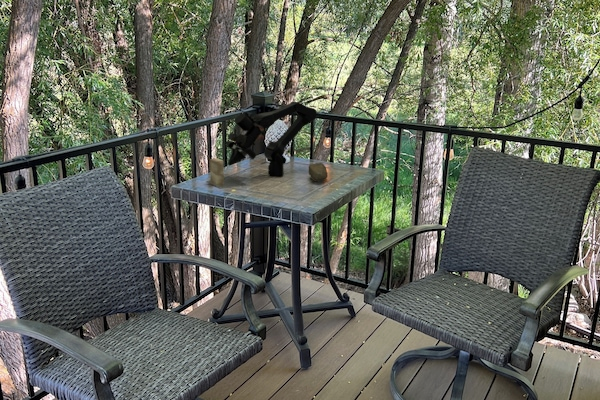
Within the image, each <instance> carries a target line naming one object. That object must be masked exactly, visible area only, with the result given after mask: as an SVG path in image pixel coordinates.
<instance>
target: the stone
mask: <svg viewBox="0 0 600 400" xmlns="http://www.w3.org/2000/svg"><path fill="white" fill-rule="evenodd" d="M308 174H309V176H310V179H312V180H313V181H314V182H315V181H316V182H319V181H320V182H321V181H324V180H327V179H328V169H327V167H326V165H325V164H324V163H323V162H315V163H311V164H309V165H308Z"/></svg>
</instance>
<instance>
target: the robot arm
mask: <svg viewBox="0 0 600 400" xmlns="http://www.w3.org/2000/svg"><path fill="white" fill-rule="evenodd" d="M294 113H296V114H297V116H296V118H295V120H294V121H293V122H292V123H291V124H290V125H289V127H288V128H287V129H286V130H285V132H284V133H283V134H282V135H280V137H279V139H278V140H276V141H272V140H271V141H270V142H269V143H268V145H266V146H265V149H264V152H263V153H264V157H265V158H266V160H267V162H268V163H269V164H268V165H267V166H268V167H267V170H268V171H267V172H268V177H275V178H276V177H277V178H278V177H280V178H281V177H283V176H284V175H285V172H284V164H286V163H287V158H286V157H285V156H284V154H285V150H286V147H287V146H288V145H289V144H290V143H291V142H292V141H293V139H294V138H295V137H296V136H297V135H298V134H299V132H300V131H302V129H303V128H304V127H305V126H307V125H309V124H311V123H313V121H315V119H317V117H318V112H317V110H316V109H315V108H314V107H310V106H306V105H304V104H303V103H301V102H298V101H295V100H293V101H291V102H290V103H288V104H286V105H283V106H281V107H279V108H277V109H275V110H271V111H268V112H261V113H258V114H256V115H255V116H253V117H251V116H250V115H249V113H248V112H247V111H243V112H242V113H240V114H239V115H237V116H236V117H235V119H234V123H235V124H236V126H238V127H239V128H240V129H241V130H242V131H243V132H245V133H244V134H241V133H237V134H236V133H232V132H229V134H228V137H227V141H226V142H225V146H226V147H227V148H229V150H230V151H231V153H230V156H229V159H228V163H227V165H229V166H231V165H234V164H236V163H237V162H239V161H242V160H244V159H246V158H247V157H246V156H247V155H248V157H249V160H253V161H254V159H255V158H256V152H254V151H253V150H252V149H251V147H252V146H255V145H256V141H257V140H258V138H260V136H261V137H266V132H265V129H269V128H270V127H272V126H273V125H274V124H275V123H276V122H277V121H278V120H281V119H282V118H284V117H287V116H289V115H291V114H294ZM261 128H262V129H261Z"/></svg>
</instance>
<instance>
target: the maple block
mask: <svg viewBox="0 0 600 400" xmlns="http://www.w3.org/2000/svg"><path fill="white" fill-rule="evenodd" d="M209 168H210V169H209V170H210V171H209V173H210V181H211V184H213V185H215V186H222V185H224V178H225V172H224V171H225V170H224V160H222V159H220V158H217V157H216V158H215V157H214V158H210V159H209ZM211 184H210V185H211ZM213 185H212V186H213ZM215 186H214V187H215Z"/></svg>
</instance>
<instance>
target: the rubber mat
mask: <svg viewBox="0 0 600 400" xmlns="http://www.w3.org/2000/svg"><path fill="white" fill-rule="evenodd" d="M205 183H207V184H209V185H211V186H213V187H215V188H217V189H219V190H222V189H226V188H227V189H228V188H234V187H238V186H239V187H240V186H245V185H246V183H244V182H241V181H240V180H238V179H236V178H233V177H231V176H230V177H224V185H222V186H215V185H213V184H211V180H206V181H205Z"/></svg>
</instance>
